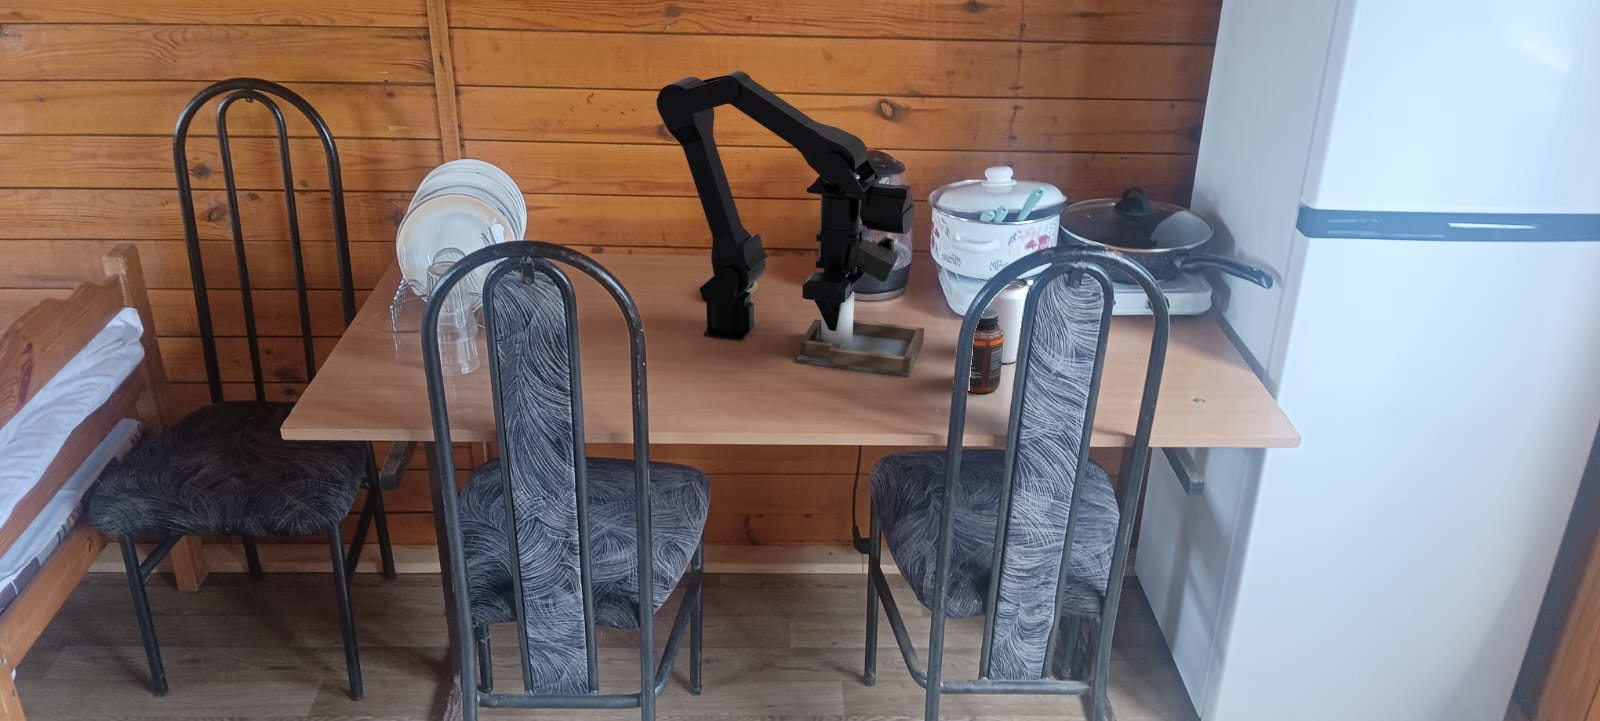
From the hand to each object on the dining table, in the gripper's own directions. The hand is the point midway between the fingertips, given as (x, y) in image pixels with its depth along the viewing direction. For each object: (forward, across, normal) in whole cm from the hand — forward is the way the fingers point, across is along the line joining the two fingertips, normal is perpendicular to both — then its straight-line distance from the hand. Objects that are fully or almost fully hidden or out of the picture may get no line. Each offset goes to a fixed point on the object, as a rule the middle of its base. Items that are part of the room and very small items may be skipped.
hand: (836, 323), depth 172 cm
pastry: (+5, +17, +22) cm, 28 cm away
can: (+4, +5, -24) cm, 25 cm away
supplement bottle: (+4, -6, -22) cm, 24 cm away
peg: (+3, 0, 0) cm, 3 cm away
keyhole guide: (+4, 0, -4) cm, 6 cm away
